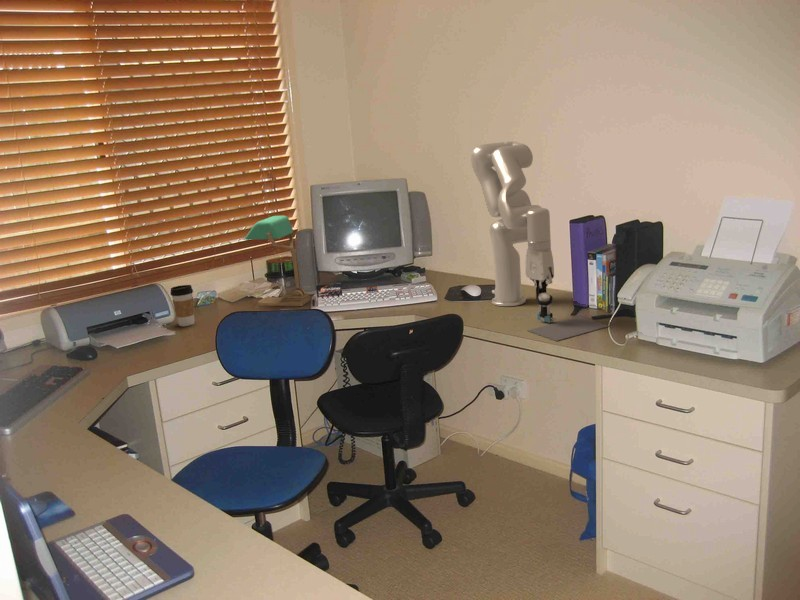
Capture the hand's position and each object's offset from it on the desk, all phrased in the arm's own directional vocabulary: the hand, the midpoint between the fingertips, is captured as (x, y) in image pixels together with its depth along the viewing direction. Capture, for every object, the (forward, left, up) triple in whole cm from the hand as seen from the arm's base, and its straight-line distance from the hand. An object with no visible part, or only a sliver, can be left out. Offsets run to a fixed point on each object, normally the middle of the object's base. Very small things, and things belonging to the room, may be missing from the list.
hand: (541, 298), depth 264 cm
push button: (+2, 0, -8) cm, 8 cm away
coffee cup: (-92, -99, -8) cm, 135 cm away
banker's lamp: (-93, -59, -8) cm, 110 cm away
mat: (+13, 0, -8) cm, 15 cm away
